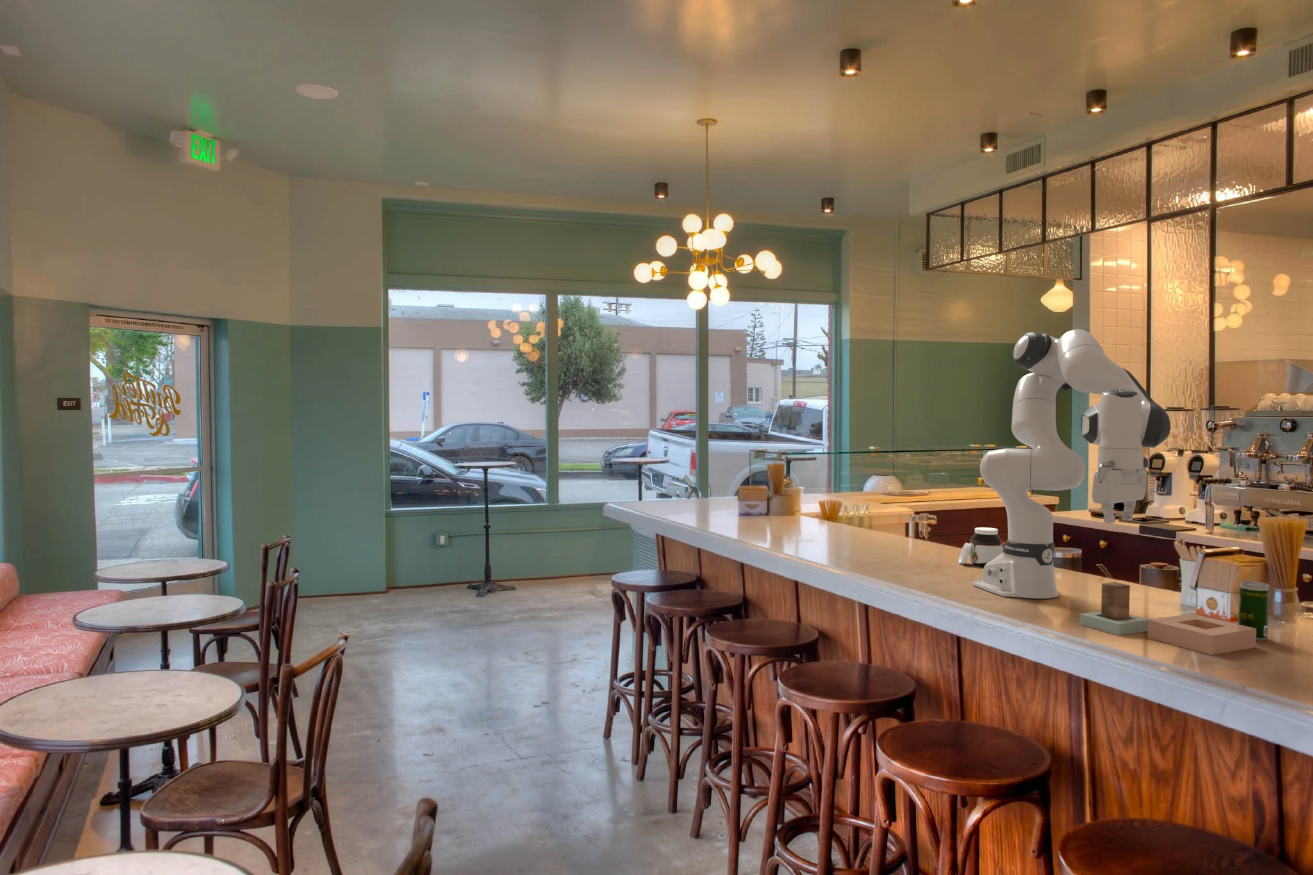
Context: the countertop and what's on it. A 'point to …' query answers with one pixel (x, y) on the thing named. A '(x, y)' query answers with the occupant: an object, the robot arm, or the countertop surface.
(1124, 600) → the plug
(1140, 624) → the green square frame
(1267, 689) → the countertop surface
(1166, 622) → the socket block
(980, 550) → the spread jar
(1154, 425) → the robot arm
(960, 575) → the countertop surface
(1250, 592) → the beer can
